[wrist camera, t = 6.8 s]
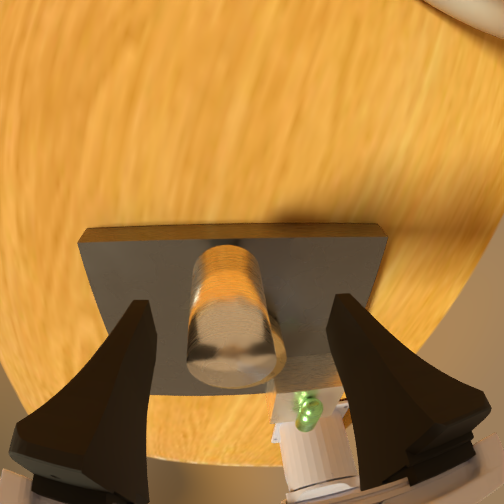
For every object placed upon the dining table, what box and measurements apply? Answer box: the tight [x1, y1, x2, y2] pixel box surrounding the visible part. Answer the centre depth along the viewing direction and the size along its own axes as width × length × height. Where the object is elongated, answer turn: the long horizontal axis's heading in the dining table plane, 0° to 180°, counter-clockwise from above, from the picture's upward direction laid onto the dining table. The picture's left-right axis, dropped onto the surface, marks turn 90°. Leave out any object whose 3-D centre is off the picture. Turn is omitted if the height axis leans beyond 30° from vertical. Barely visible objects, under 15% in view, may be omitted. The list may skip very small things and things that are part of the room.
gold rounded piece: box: [187, 245, 287, 389], centre depth 15 cm, size 12×6×7 cm, turn 2°
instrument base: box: [78, 223, 388, 432], centre depth 18 cm, size 15×17×6 cm
